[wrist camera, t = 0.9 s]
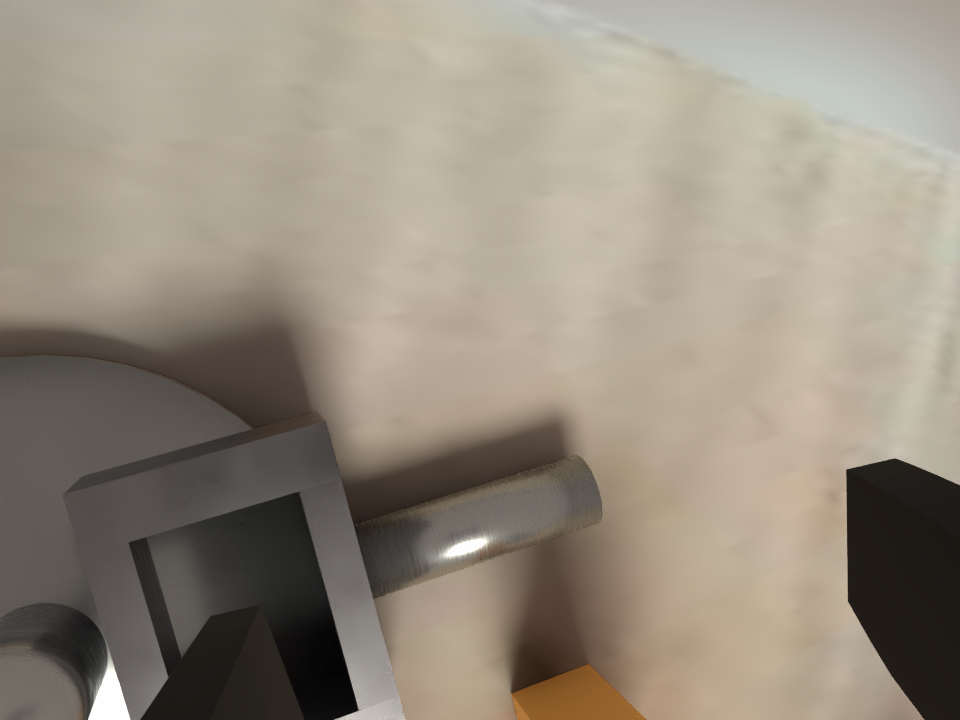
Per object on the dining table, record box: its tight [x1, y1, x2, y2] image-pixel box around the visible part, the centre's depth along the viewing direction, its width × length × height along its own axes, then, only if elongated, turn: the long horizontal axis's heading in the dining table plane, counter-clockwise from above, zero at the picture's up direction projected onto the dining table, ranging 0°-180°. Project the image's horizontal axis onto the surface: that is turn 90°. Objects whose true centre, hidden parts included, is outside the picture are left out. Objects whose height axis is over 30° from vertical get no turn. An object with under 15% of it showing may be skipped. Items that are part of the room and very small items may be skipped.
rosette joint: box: [0, 355, 602, 720], centre depth 24 cm, size 18×26×6 cm
